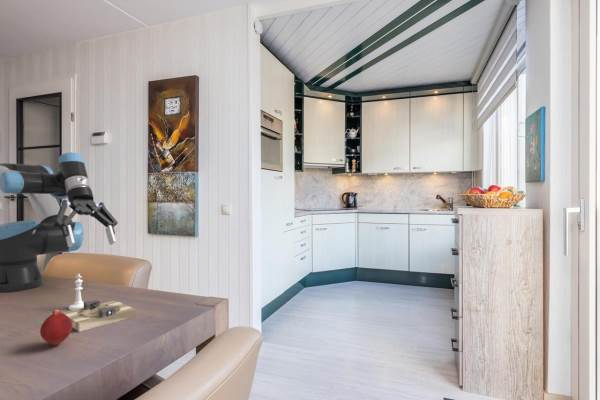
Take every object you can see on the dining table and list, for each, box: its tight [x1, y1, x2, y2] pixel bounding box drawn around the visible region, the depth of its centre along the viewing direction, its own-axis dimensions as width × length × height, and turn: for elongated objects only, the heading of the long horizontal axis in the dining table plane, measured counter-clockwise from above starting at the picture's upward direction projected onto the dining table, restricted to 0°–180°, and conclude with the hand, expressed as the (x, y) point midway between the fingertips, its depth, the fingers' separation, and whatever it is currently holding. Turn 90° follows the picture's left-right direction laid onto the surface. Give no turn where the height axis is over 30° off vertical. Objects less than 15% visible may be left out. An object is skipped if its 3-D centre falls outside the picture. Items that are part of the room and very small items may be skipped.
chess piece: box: [67, 273, 85, 311], centre depth 101 cm, size 5×5×10 cm
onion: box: [39, 309, 73, 346], centre depth 76 cm, size 6×6×8 cm
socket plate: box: [62, 299, 137, 333], centre depth 92 cm, size 12×14×4 cm
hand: (93, 244), depth 115 cm, fingers open, 13 cm apart
